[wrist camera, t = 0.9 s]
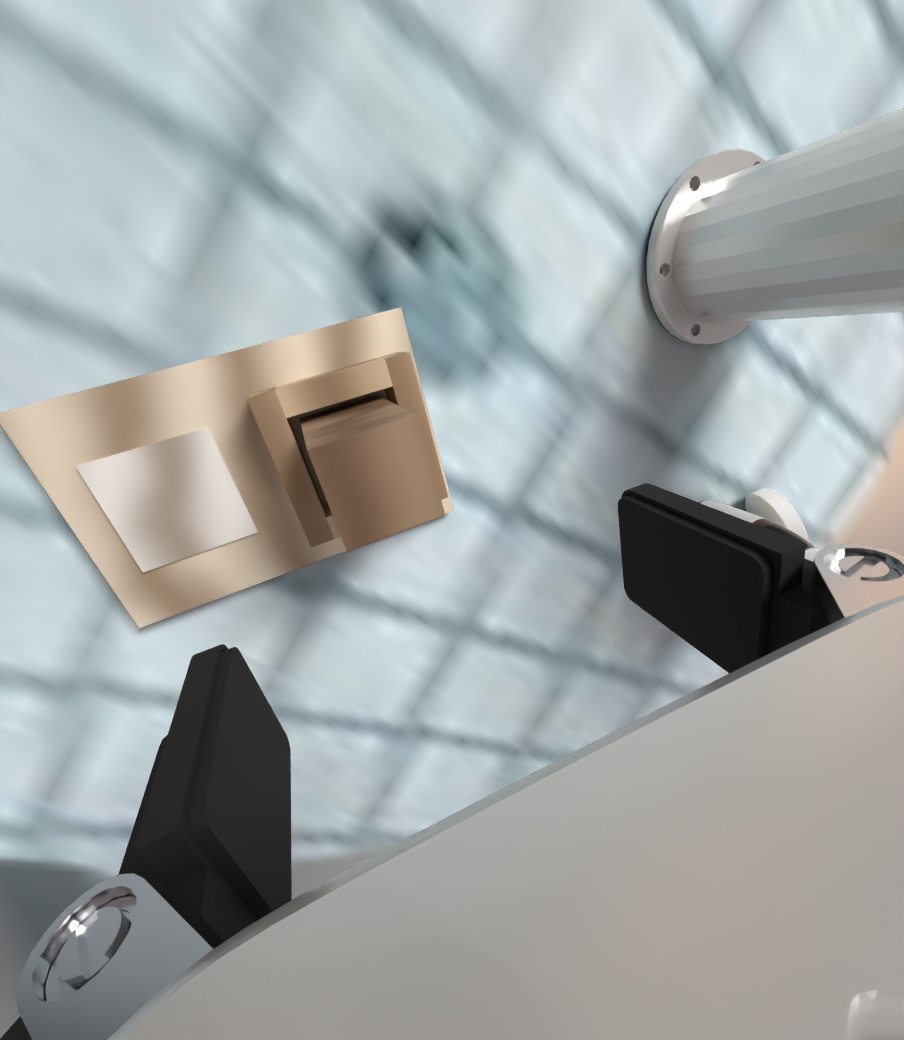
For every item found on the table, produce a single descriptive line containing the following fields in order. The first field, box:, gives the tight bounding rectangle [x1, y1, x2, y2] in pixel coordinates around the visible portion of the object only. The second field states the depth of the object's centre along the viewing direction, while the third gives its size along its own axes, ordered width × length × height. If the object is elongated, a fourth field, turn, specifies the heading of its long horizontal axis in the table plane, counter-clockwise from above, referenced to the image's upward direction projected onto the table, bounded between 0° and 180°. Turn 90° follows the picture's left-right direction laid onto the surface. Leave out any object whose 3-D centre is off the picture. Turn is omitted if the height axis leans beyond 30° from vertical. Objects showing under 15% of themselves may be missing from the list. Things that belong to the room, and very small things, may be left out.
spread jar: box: [698, 488, 821, 562], centre depth 40 cm, size 12×11×12 cm
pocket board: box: [0, 307, 454, 628], centre depth 27 cm, size 22×14×4 cm, turn 105°
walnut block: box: [299, 395, 445, 552], centre depth 25 cm, size 5×5×10 cm
